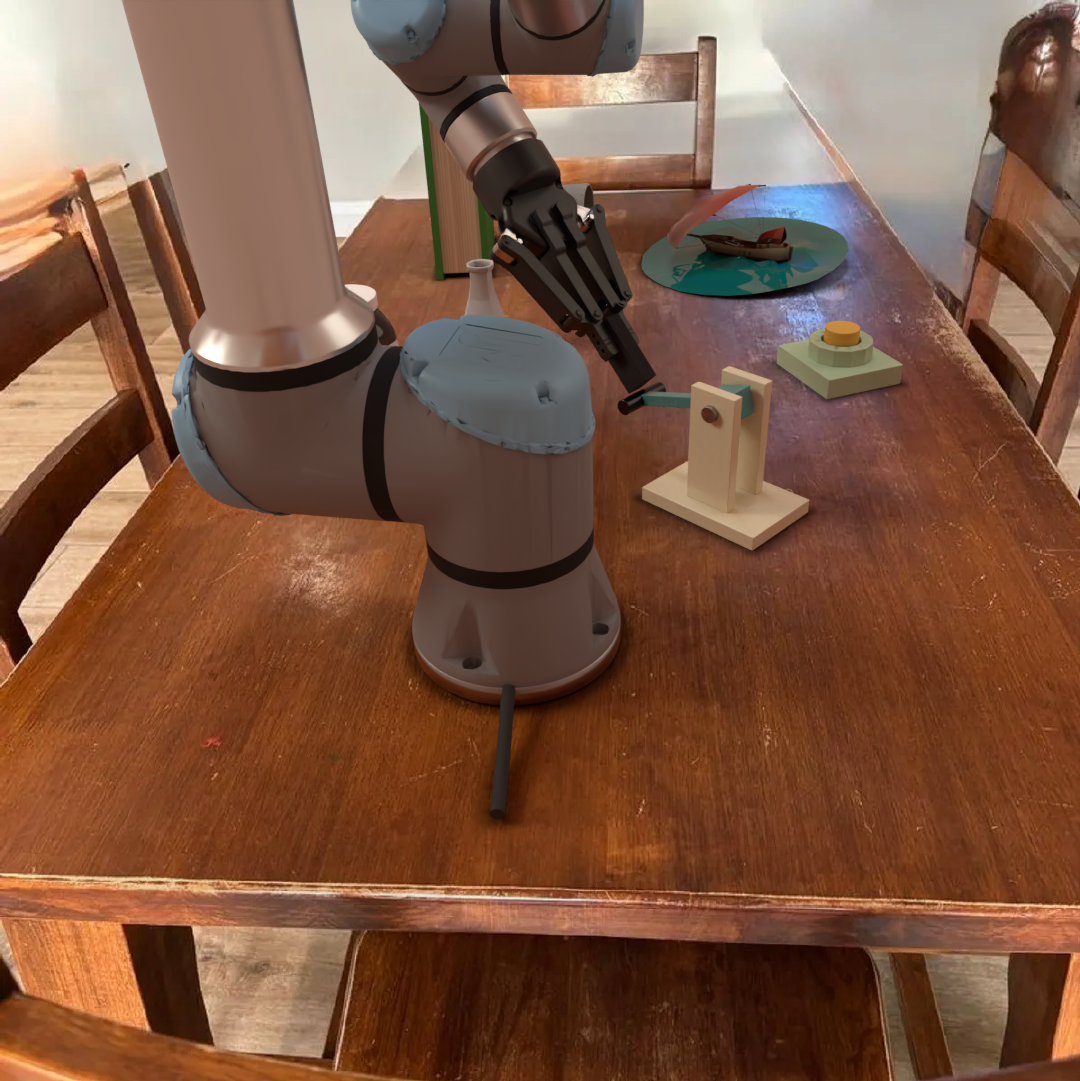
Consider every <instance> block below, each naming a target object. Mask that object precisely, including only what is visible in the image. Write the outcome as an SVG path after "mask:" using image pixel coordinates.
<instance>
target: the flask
mask: <svg viewBox="0 0 1080 1081" xmlns="http://www.w3.org/2000/svg"><path fill="white" fill-rule="evenodd" d="M494 263H495V262H494V261H493V260H487V259H476V260H471V261H469V262H468V263H466V265H467V270H468V272H467V273H469V290H468V297H467V301H466V302H467V303H466V305H465V310H464V314H463V315H491V316H499V317H506V315H505V312H504V310H503V308H502V306H501V303H500V301H499V298H498V296H497V293H496V290H495V286H494V283H493V270H494V267H495V265H494Z"/></svg>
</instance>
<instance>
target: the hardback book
mask: <svg viewBox="0 0 1080 1081" xmlns="http://www.w3.org/2000/svg"><path fill="white" fill-rule="evenodd" d="M418 109H419V110H418V111H419V118H420V130H421V137H422V148H423V158H424V167H425V168H424V169H425V177H426V178H425V179H426V186H427V188H426V189H427V197H428V206H429V216H430V226H431V235H432V236H431V237H432V245H433V246H432V247H433V256H434V265H435V277H436V281H442V280H445V276H446V274H461V273H463V274H464V273H469V272H468V270H467V265H466V263H468V262H469V261H471V260H476V259H487V260H492V259H491V258H490V256H489V253H490V251H491V250H492V248H493V247H494V246H495V241H496V240H495V238H496V235H495V220H493V219H491V218H490V217H489V215H488V214H487V212H486V210H485V209H484V207H483V205H482V204H481V202H480V201H479V199H478V197H477V196H476V194H475V192H474V191H473V182H470V181H468V180H467V179H466V177H465V176H464V174H463V172H462V171H461V169H460V168H459V166H458V164H457V163H456V161H455V159H454V158H453V156H452V155H451V153H450V151H449V150H448V148H447V146H446V145H445V143H444V141H443V140H442V138H441V135H440V134H439V132H438V131H437V129H436V128H435V126H434V125H433V123H432V122H431V120H430V119H429V117H428V115H427V114H426V112H425V111H424V109H423V108H422V106H421V105H420V103H419V102H418Z"/></svg>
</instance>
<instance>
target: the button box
mask: <svg viewBox="0 0 1080 1081" xmlns="http://www.w3.org/2000/svg"><path fill="white" fill-rule="evenodd" d="M824 333H825V327H824V328H820V329H817V330H815V331H814V332H812V333H811V334H809V338H807V339H803V340H799V341H793V342H787V343H783V344H778V346H777V355H776V364H777V365H778V366H779V367H781V368H782V369H784V370H785V371H786V372H787V373H789V374H791V375H792V376H793V377H795V378H796V379H797V380H798V381H800V382H802V383H803V384H804V385H806V386H808V387H809V389H812V390H813V391H814V392H815V393H817V394H818V395H820V396H821V397H822V398H824V399H825V400H830V399H836V398H840V397H845V396H849V395H854V394H859V393H863V392H868V391H873V390H877V389H882V388H886V387H891V386H895V385H900V384H901V381H902V375H903V369H904V364H903V363H901V362H900V361H898V360H896V359H895V358H893V357H892V356H890V355H888V354H886V353H884V352H883V351H882V350H879V349H878V348H877V347H875V346H874V345H875V344H874V339H873V336H871V335H870V334H868V333H867V332H865V331H864V330H860V336H859V343H858V345H855V346H850V347H836V346H832V345H828V344H826V343H825V342H823V341H824Z"/></svg>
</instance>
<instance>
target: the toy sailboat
mask: <svg viewBox="0 0 1080 1081" xmlns="http://www.w3.org/2000/svg"><path fill="white" fill-rule="evenodd" d="M761 187H762V188H763V187H767V184H752V183H746V184H743V185H741V184H740V185H737V186H735V187H733V188H730V189H726V190H724V191H721V192H718V193H716V194H713V195H710V196H708V197H705V198H702V199H700V200H698V201H697V202H696V204H694V205H693V206H692V207H691V208H690V209H689V210H688V211H687V212H685V214H684V215H683V216H681V217H680V218H679V219H678V220H677V221H676V222H675V223H674V224H672V225H671V226H670V228H669V230H668V232H667V235H666V236H664V237H662V238H660V239H659V240H658V241H656V242H654V243H653V244H652V245H650V247H649V248H648V249H647V250H646V251H645V252H644V254H643V255H642V259H641V266H640V267H641V270H642V271H643V273H644V274H645V276H647V277H648V278H649V279H651V280H652V281H654V282H656V283H657V284H659V285H661V286H663V287H666V288H669V289H672V290H675V291H678V292H683V293H684V292H685V293H689V294H695V295H696V294H697V295H704V296H720V297H721V296H723V297H729V296H732V297H733V296H744V295H754V294H760V293H761V294H762V293H767V292H773V291H777V290H783V289H788V288H793V287H797V286H802V285H805V284H808V283H812V282H815V281H817V280H819V279H821V278H822V277H824V276H826V275H827V274H830V273H831V272H833V271H834V270H835V269H836V268H838V267H839V265H841V264H842V263H843V262H844V261H845V260H846V257H847V255H848V253H849V252H850V249H849V244H848V241H847V239H846V238H845V236H843V235H842V233H841V232H839V231H837V230H836V229H833V228H831V227H829V226H826V225H824V224H820V223H817V222H813V221H809V220H804V219H800V218H799V219H798V218H789V217H788V218H787V217H775V216H773V217H772V216H771V217H770V216H759V215H758V214H756V216H753V217H751V216H749V217H737V218H729V219H728V218H727V219H725V218H723V217H720V216H718V215H717V214H716V213H718V212H719V211H720V210H722V209H723V208H724V207H726V206H727V205H728V204H730V203H731V202H733V203H735V200H736V199H738V198H740V197H742V196H743V195H745V194H747V193H749V192H753V191H752V190H754V189H756V188H761ZM751 195H752V199H753V201H755V199H754V195H753V193H751ZM765 201H766V197H764V202H763V203H765ZM753 203H754V205H756V203H755V202H753ZM736 207H737V208H738V209H740V207H739V206H738V205H736ZM754 208H755V209H757V207H756V206H755V207H754ZM755 212H756V213H758V212H757V210H755ZM741 213H743V214H744V211H741ZM712 216H713V217H718V218H720V219H721V220H714V221H709V222H705V221H707V220H708V219H709V218H710V217H712Z"/></svg>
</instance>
